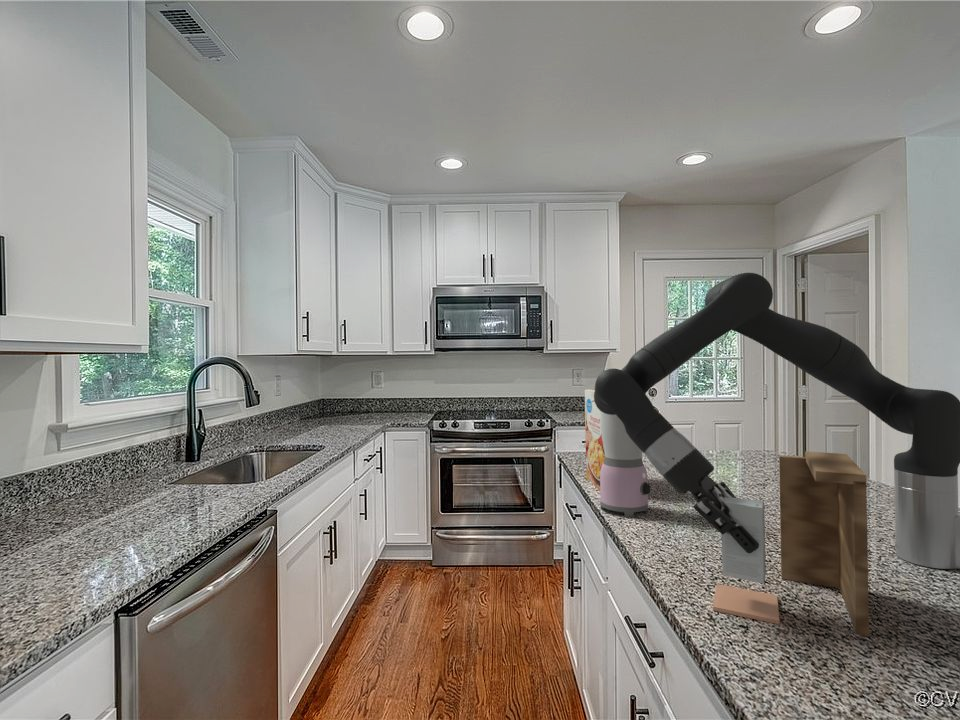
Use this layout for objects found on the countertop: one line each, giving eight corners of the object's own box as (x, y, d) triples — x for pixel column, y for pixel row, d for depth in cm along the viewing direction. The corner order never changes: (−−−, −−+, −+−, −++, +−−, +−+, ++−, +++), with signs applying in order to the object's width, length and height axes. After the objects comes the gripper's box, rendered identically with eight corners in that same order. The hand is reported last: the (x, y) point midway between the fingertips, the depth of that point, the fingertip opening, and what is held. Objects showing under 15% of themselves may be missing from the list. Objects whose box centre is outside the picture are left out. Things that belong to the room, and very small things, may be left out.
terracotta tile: (777, 598, 82) (777, 595, 82) (779, 624, 74) (779, 620, 74) (716, 587, 86) (716, 583, 86) (713, 610, 78) (713, 606, 78)
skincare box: (766, 574, 80) (765, 501, 80) (764, 584, 76) (763, 507, 76) (724, 566, 83) (723, 495, 83) (721, 575, 80) (720, 501, 80)
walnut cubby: (848, 586, 85) (846, 453, 85) (869, 636, 70) (866, 474, 70) (781, 575, 90) (778, 449, 90) (786, 619, 75) (783, 468, 75)
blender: (590, 509, 132) (588, 390, 132) (616, 500, 140) (614, 387, 140) (644, 523, 120) (642, 392, 120) (669, 512, 128) (667, 389, 128)
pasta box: (586, 477, 168) (584, 389, 168) (609, 477, 168) (608, 389, 168) (605, 496, 145) (603, 394, 145) (632, 495, 145) (630, 393, 145)
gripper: (682, 453, 79) (770, 546, 71) (704, 441, 90) (781, 520, 83) (649, 482, 82) (730, 573, 75) (674, 466, 93) (746, 544, 86)
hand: (756, 544), depth 79 cm, fingers closed on skincare box, 4 cm apart
